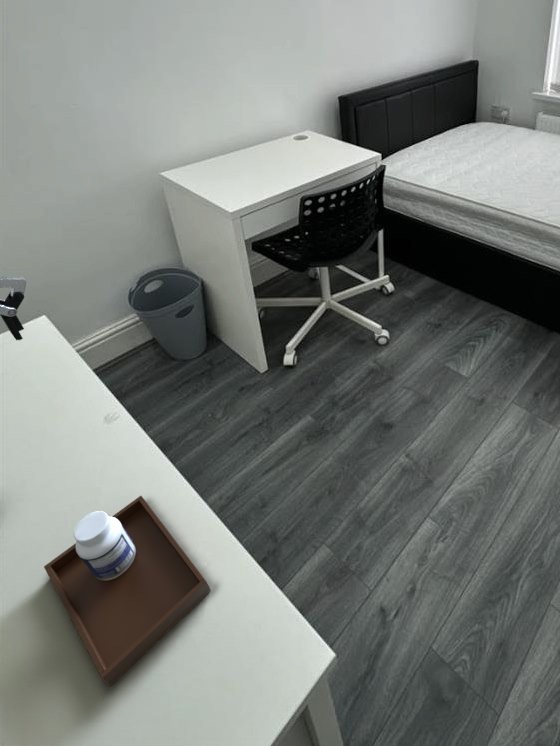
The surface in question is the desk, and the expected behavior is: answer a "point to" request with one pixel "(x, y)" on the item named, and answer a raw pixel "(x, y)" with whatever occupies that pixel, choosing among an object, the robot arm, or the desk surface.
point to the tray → (129, 593)
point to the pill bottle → (104, 545)
